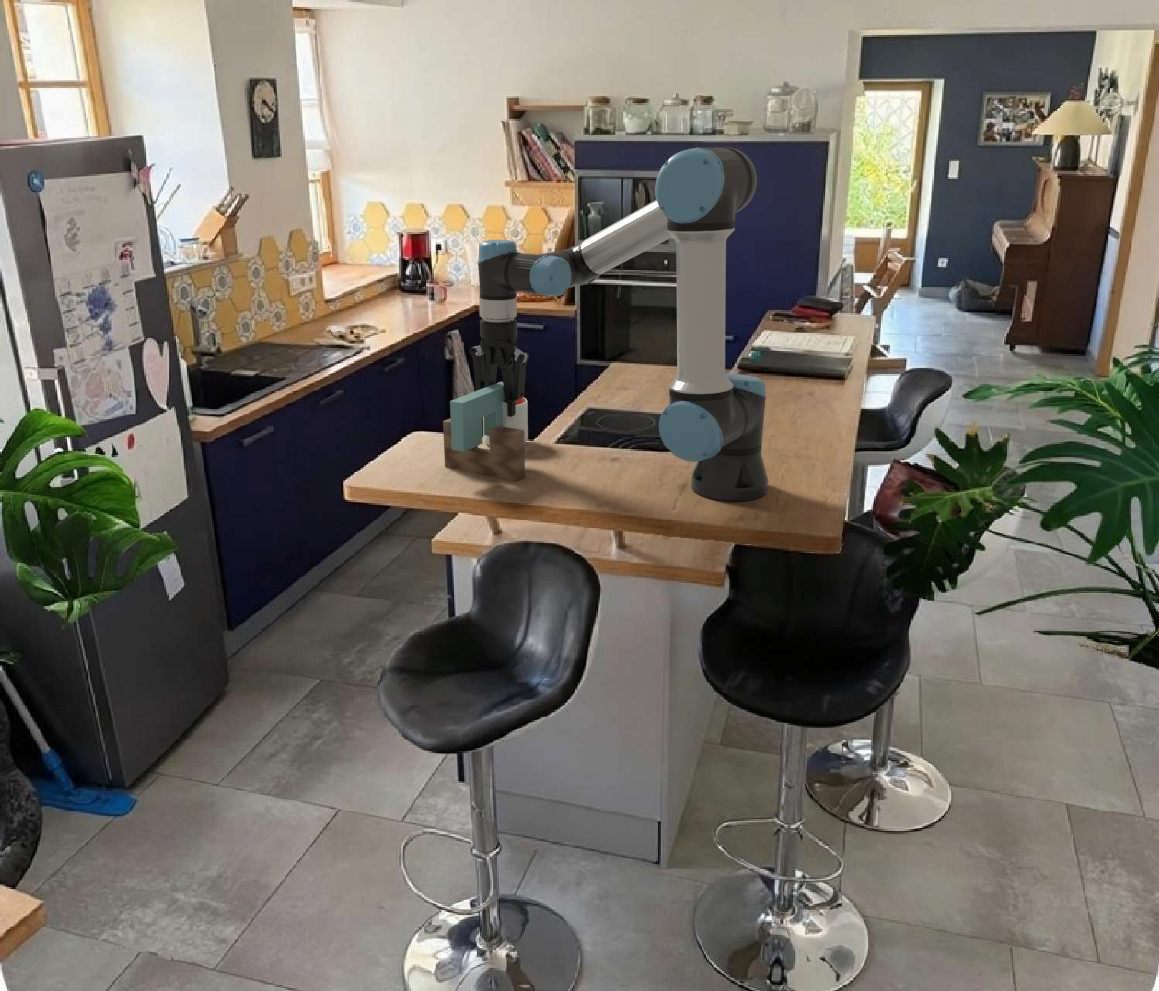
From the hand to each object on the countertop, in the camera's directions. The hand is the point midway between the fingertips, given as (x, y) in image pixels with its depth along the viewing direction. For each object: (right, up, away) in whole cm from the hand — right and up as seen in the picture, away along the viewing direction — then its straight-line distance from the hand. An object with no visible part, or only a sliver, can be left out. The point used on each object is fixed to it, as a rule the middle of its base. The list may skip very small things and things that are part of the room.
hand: (500, 429), depth 215 cm
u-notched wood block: (-3, -9, -3) cm, 10 cm away
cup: (0, -2, +16) cm, 16 cm away
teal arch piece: (-3, -2, -5) cm, 6 cm away
